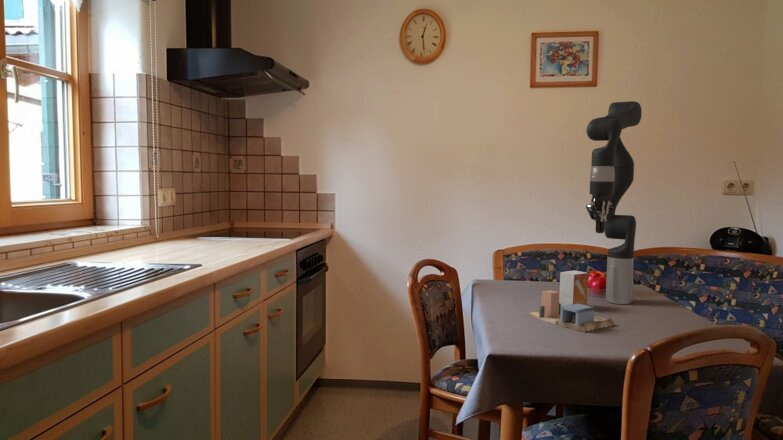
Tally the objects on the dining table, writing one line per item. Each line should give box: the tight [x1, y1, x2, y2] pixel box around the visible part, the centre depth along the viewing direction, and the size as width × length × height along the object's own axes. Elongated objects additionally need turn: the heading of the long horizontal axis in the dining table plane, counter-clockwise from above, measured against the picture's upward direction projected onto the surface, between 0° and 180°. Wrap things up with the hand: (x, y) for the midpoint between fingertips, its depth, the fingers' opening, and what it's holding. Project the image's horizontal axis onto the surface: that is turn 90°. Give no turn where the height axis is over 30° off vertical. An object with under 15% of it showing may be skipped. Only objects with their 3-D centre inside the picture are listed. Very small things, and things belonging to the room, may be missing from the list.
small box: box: [559, 270, 589, 306], centre depth 202 cm, size 8×6×13 cm
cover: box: [560, 303, 595, 326], centre depth 175 cm, size 8×7×5 cm
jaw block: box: [540, 289, 560, 317], centre depth 186 cm, size 4×4×8 cm
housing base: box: [557, 313, 615, 333], centre depth 178 cm, size 15×10×4 cm, turn 124°
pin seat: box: [526, 303, 561, 325], centre depth 186 cm, size 10×12×4 cm
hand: (599, 232), depth 184 cm, fingers closed
